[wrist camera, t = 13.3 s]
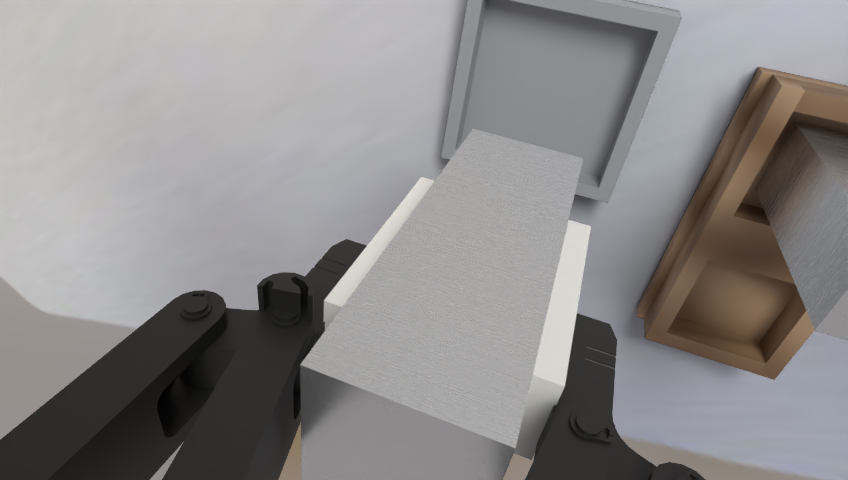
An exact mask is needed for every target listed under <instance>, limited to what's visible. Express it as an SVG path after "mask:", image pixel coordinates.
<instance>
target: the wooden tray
mask: <svg viewBox="0 0 848 480" xmlns="http://www.w3.org/2000/svg"><path fill="white" fill-rule="evenodd" d="M794 122H797V123H801V124H806V125H810V126H814V127H819V128H823V129H827V130H832V131H836V132H841V133H845V134H848V86H845V85H840V84H836V83H831V82H826V81H822V80H817V79H813V78H808V77H803V76H799V75H794V74H789V73H785V72H780V71H775V70H771V69H766V68H761V67H758V69H757V71H756V73H755V75H754V77H753V79H752V81H751V83H750V85H749V87H748V89H747V91H746V93H745V95H744V97H743V99H742V101H741V103H740V104H739V106H738V108H737V110H736V112H735V114H734V116H733V118H732V120H731V122H730V124H729V126H728V128H727V130H726V132H725V134H724V136H723V138H722V140H721V142H720V144H719V146H718V148H717V150H716V152H715V154H714V156H713V158H712V160H711V162H710V164H709V166H708V168H707V170H706V172H705V174H704V176H703V178H702V180H701V182H700V184H699V186H698V187H697V189H696V191H695V193H694V195H693V197H692V199H691V201H690V203H689V205H688V207H687V209H686V211H685V213H684V215H683V217H682V219H681V221H680V223H679V225H678V227H677V229H676V231H675V233H674V235H673V237H672V239H671V241H670V243H669V245H668V247H667V249H666V251H665V253H664V255H663V257H662V259H661V261H660V263H659V265H658V267H657V269H656V271H655V272H654V274H653V276H652V278H651V280H650V282H649V284H648V286H647V288H646V290H645V292H644V294H643V296H642V298H641V300H640V302H639V304H638V306H637V317H640V318H643V319H644V329H645V339H648V340H651V341H655V342H658V343H661V344H664V345H667V346H670V347H673V348H677V349H680V350H683V351H686V352H689V353H692V354H695V355H699V356H702V357H705V358H708V359H711V360H714V361H717V362H721V363H724V364H727V365H730V366H733V367H736V368H739V369H743V370H746V371H749V372H752V373H755V374H758V375H761V376H765V377H768V378H771V379H774V380H775V378H776V377H777V376H778V375H779V373H780V372H781V371H782V370H783V368H784V367H785V366H786V365H787V363H788V362H789V361H790V360H791V358H792V357H793V356H794V355H795V353H796V352H797V351H798V350H799V349H800V347H801V346H802V345H803V344H804V342H805V341H806V340H807V339H808V337H809V336H810V335H811V334H812V332H813V331H814V327H813V325H812V323H811V320H810V318H809V316H808V313H807V311H806V308H805V306H804V304H803V301H802V299H801V297H800V294H799V292H798V289H797V287H796V285H795V282H794V280H793V278H792V275H791V273H790V270H789V268H788V266H787V263H786V261H785V259H784V256H783V254H782V251H781V249H780V247H779V244H778V242H777V240H776V237H775V235H774V232H773V230H772V228H771V225H770V223H769V221H768V218H767V216H766V213H765V211H764V209H763V206H762V204H761V202H760V199H759V197H758V194H757V192H756V190H755V188H756V187H757V185H758V183H759V181H760V180H761V178H762V176H763V175H764V173H765V171H766V169H767V168H768V166H769V164H770V163H771V161H772V159H773V157H774V156H775V154H776V152H777V150H778V149H779V147H780V145H781V144H782V142H783V140H784V138H785V137H786V135H787V133H788V132H789V130H790V128H791V126H792V125H793V123H794Z"/></svg>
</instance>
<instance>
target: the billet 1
mask: <svg viewBox="0 0 848 480" xmlns="http://www.w3.org/2000/svg"><path fill="white" fill-rule="evenodd" d="M582 161H583V158H580V157H577V156H573V155H569V154H565V153H562V152H558V151H554V150H550V149H547V148H543V147H539V146H535V145H532V144H528V143H524V142H520V141H517V140H513V139H509V138H505V137H502V136H498V135H494V134H491V133H487V132H483V131H479V130H476V129H472V131H471V132H470V133H469V135H468V136H467V138H466V139H465V140H464V142H463V143H462V144H461V146H460V147H459V148H458V150H457V151H456V153H455V154H454V155H453V157H452V158H451V159H450V161H449V162H448V163H447V165H446V166H445V168H444V169H443V170H442V172H441V173H440V174H439V176H438V177H437V179H436V180H435V181H434V183H433V184H432V185H431V187H430V188H429V189H428V191H427V192H426V194H425V195H424V196H423V198H422V199H421V200H420V202H419V203H418V204H417V206H416V207H415V209H414V210H413V211H412V213H411V214H410V215H409V217H408V218H407V220H406V221H405V222H404V224H403V225H402V226H401V228H400V229H399V230H398V232H397V233H396V235H395V236H394V237H393V239H392V240H391V241H390V243H389V244H388V245H387V247H386V248H385V250H384V251H383V252H382V254H381V255H380V256H379V258H378V259H377V261H376V262H375V263H374V265H373V266H372V267H371V269H370V270H369V271H368V273H367V274H366V276H365V277H364V278H363V280H362V281H361V282H360V284H359V285H358V287H357V288H356V289H355V291H354V292H353V293H352V295H351V296H350V297H349V299H348V300H347V302H346V303H345V304H344V306H343V307H342V308H341V310H340V311H339V312H338V314H337V315H336V317H335V318H334V319H333V321H332V322H331V323H330V325H329V326H328V328H327V329H326V330H325V332H324V333H323V334H322V336H321V337H320V338H319V340H318V341H317V343H316V344H315V345H314V347H313V348H312V349H311V351H310V352H309V353H308V355H307V356H306V358H305V359H304V360H303V362H302V363H301V364H300V384H301V458H302V480H503V477H504V475H505V472H506V470H507V468H508V465H509V463H510V460H511V458H512V456H513V453H514V451H515V448H516V444H517V440H518V435H519V431H520V427H521V423H522V418H523V414H524V410H525V405H526V401H527V397H528V393H529V388H530V384H531V380H532V375H533V371H534V367H535V363H536V358H537V354H538V350H539V345H540V341H541V337H542V333H543V328H544V324H545V320H546V315H547V311H548V307H549V303H550V298H551V294H552V290H553V285H554V281H555V277H556V273H557V268H558V264H559V260H560V255H561V251H562V247H563V243H564V238H565V234H566V230H567V225H568V221H569V217H570V213H571V208H572V204H573V200H574V196H575V191H576V187H577V183H578V178H579V174H580V170H581V166H582Z"/></svg>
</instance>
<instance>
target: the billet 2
mask: <svg viewBox="0 0 848 480" xmlns="http://www.w3.org/2000/svg"><path fill="white" fill-rule="evenodd" d="M755 190H756V192H757V194H758V197H759V199H760V202H761V204H762V206H763V209H764V211H765V213H766V216H767V218H768V221H769V223H770V225H771V228H772V230H773V232H774V235H775V237H776V240H777V242H778V244H779V247H780V249H781V251H782V254H783V256H784V259H785V261H786V263H787V266H788V268H789V270H790V273H791V275H792V278H793V280H794V282H795V285H796V287H797V289H798V292H799V294H800V297H801V299H802V301H803V304H804V306H805V308H806V311H807V313H808V316H809V318H810V320H811V323H812V325H813V327H814V330H815V331H818V332H822V333H825V334H828V335H832V336H835V337H839V338H842V339H845V340H848V134H845V133H841V132H836V131H832V130H827V129H823V128H819V127H814V126H810V125H806V124H801V123H797V122H794V123H793V125H792V126H791V128H790V130H789V132H788V133H787V135H786V137H785V138H784V140H783V142H782V144H781V145H780V147H779V149H778V150H777V152H776V154H775V156H774V157H773V159H772V161H771V163H770V164H769V166H768V168H767V169H766V171H765V173H764V175H763V176H762V178H761V180H760V181H759V183H758V185H757V187H756V188H755Z"/></svg>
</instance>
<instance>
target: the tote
mask: <svg viewBox="0 0 848 480" xmlns="http://www.w3.org/2000/svg"><path fill="white" fill-rule="evenodd" d="M681 19H682V17H681V15H680V12H679V11H677V10H672V9H667V8H662V7H657V6H652V5H647V4H642V3H637V2H632V1H627V0H468V1H467V7H466V13H465V19H464V25H463V31H462V36H461V42H460V48H459V54H458V60H457V66H456V72H455V78H454V84H453V90H452V96H451V101H450V107H449V113H448V119H447V125H446V131H445V137H444V143H443V149H442V155H441V158H445V159H449V160H450V159H451V158H452V157H453V155H454V154H455V153H456V151H457V150H458V148H459V147H460V146H461V144H462V143H463V142H464V140H465V139H466V138H467V136H468V135H469V133H470V132H471V131H472V129H476V130H479V131H483V132H487V133H491V134H494V135H498V136H502V137H505V138H509V139H513V140H517V141H520V142H524V143H528V144H532V145H535V146H539V147H543V148H547V149H550V150H554V151H558V152H562V153H565V154H569V155H573V156H577V157H580V158H583V161H582V166H581V170H580V174H579V178H578V183H577V187H576V191H575V194H576V195H580V196H583V197H587V198H591V199H594V200H598V201H602V202H605V203H608V202H609V199H610V197H611V194H612V192H613V189H614V187H615V184H616V182H617V179H618V177H619V174H620V172H621V169H622V167H623V164H624V162H625V159H626V157H627V154H628V151H629V149H630V146H631V144H632V141H633V139H634V136H635V134H636V131H637V129H638V126H639V124H640V121H641V119H642V116H643V114H644V111H645V109H646V106H647V104H648V101H649V99H650V96H651V94H652V91H653V89H654V86H655V84H656V81H657V79H658V76H659V74H660V71H661V69H662V66H663V64H664V61H665V59H666V56H667V54H668V51H669V49H670V46H671V44H672V41H673V39H674V36H675V34H676V31H677V29H678V26H679V24H680V21H681Z"/></svg>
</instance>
